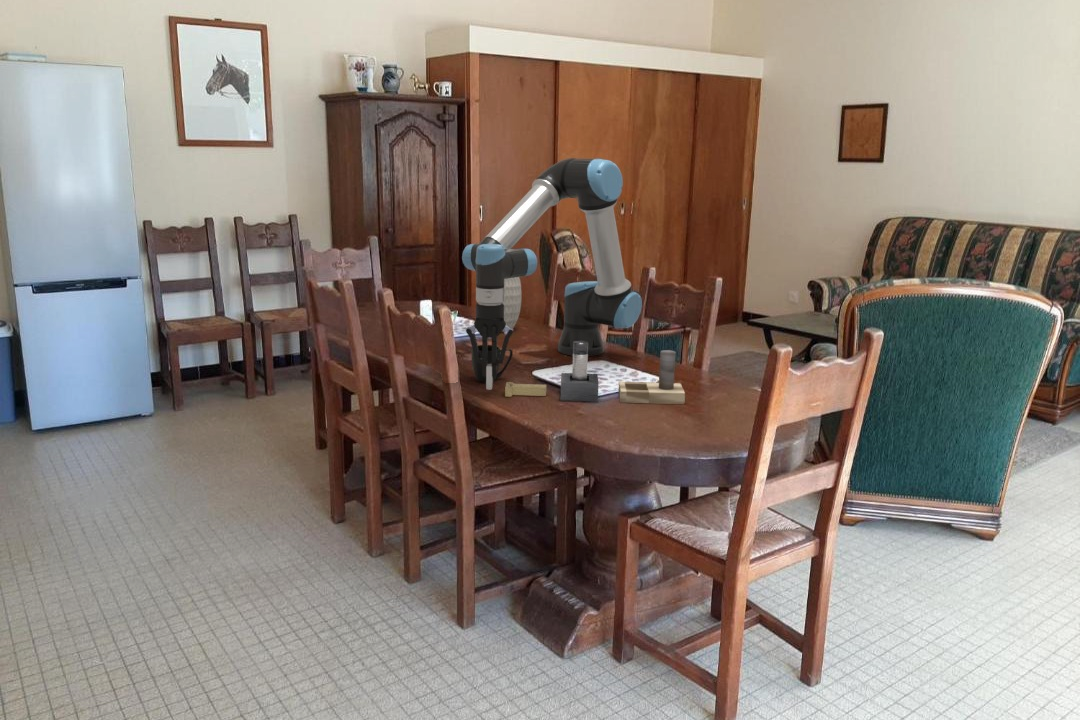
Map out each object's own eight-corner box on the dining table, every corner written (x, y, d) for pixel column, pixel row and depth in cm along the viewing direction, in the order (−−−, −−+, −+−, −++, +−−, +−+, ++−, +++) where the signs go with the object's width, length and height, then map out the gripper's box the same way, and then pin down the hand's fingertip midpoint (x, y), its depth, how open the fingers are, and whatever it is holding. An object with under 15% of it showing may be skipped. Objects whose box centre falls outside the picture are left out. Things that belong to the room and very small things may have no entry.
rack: (618, 391, 238) (620, 346, 235) (679, 393, 238) (682, 348, 235) (620, 402, 229) (622, 355, 226) (684, 404, 228) (687, 356, 225)
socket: (560, 390, 239) (561, 372, 238) (596, 391, 239) (597, 373, 237) (560, 400, 229) (560, 382, 228) (597, 401, 229) (598, 383, 228)
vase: (506, 325, 322) (507, 250, 315) (528, 331, 313) (529, 254, 306) (479, 329, 314) (479, 252, 307) (500, 335, 305) (500, 256, 298)
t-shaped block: (506, 390, 237) (506, 382, 237) (546, 391, 237) (546, 383, 237) (505, 396, 232) (505, 387, 231) (545, 397, 231) (545, 389, 231)
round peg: (571, 393, 236) (573, 340, 232) (586, 394, 236) (588, 340, 232) (571, 397, 232) (573, 343, 228) (586, 398, 232) (588, 344, 228)
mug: (515, 382, 246) (516, 350, 244) (474, 384, 243) (474, 352, 240) (508, 374, 254) (509, 343, 251) (469, 377, 250) (468, 345, 248)
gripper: (463, 304, 225) (464, 391, 231) (513, 306, 225) (512, 392, 230) (467, 299, 232) (467, 383, 238) (515, 301, 232) (514, 385, 238)
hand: (489, 388), depth 234 cm, fingers closed
